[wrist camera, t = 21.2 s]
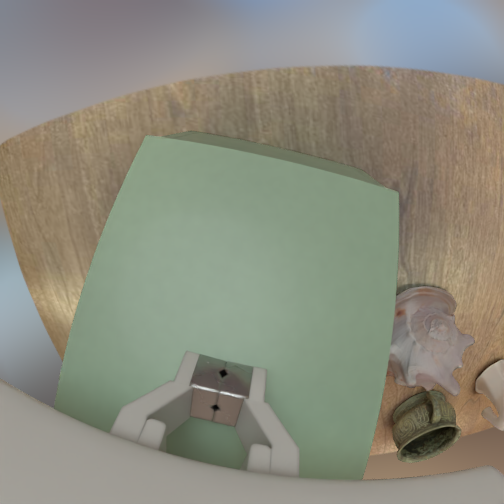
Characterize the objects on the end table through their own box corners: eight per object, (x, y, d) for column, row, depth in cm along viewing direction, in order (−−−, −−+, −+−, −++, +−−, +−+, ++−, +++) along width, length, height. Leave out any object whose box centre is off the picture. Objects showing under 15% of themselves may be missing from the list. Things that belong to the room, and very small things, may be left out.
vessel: (393, 387, 32) (405, 428, 27) (458, 372, 31) (475, 408, 25) (383, 438, 37) (390, 473, 31) (438, 425, 35) (448, 458, 30)
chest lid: (348, 500, 11) (354, 506, 10) (57, 432, 11) (49, 435, 10) (392, 199, 16) (399, 191, 15) (148, 143, 16) (146, 134, 15)
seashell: (471, 284, 26) (517, 341, 17) (435, 372, 31) (459, 432, 22) (383, 281, 27) (416, 349, 18) (357, 375, 32) (369, 445, 23)
